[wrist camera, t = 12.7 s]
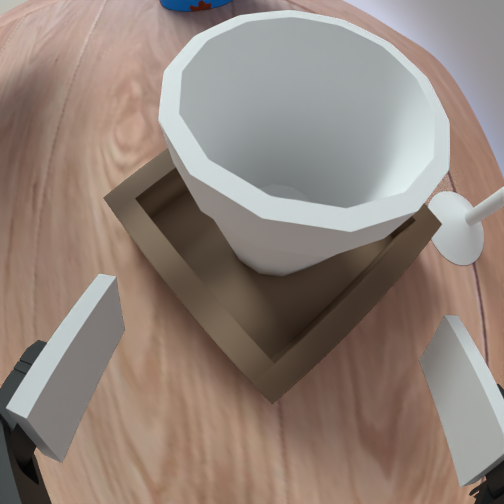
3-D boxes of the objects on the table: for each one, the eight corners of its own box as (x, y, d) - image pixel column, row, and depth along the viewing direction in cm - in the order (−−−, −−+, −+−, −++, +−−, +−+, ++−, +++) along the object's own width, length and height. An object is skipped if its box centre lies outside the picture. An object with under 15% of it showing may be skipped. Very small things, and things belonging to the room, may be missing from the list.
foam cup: (227, 319, 19) (197, 279, 7) (189, 188, 22) (142, 36, 9) (365, 273, 20) (494, 186, 8) (315, 155, 23) (366, 9, 10)
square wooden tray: (126, 224, 22) (103, 197, 18) (278, 114, 25) (283, 76, 21) (265, 391, 19) (271, 404, 15) (411, 244, 22) (442, 224, 18)
